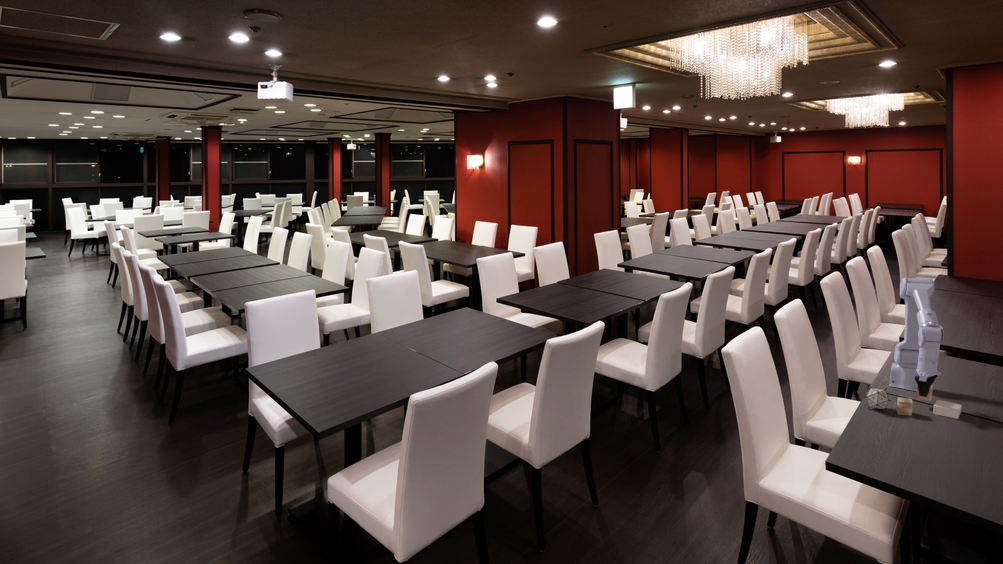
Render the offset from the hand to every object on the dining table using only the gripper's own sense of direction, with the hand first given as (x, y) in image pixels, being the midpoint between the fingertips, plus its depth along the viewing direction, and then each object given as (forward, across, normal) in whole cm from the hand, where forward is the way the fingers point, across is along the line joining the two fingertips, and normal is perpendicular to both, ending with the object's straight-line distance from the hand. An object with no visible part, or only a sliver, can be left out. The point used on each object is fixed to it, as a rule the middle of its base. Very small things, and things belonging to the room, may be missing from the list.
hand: (924, 394), depth 203 cm
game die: (+5, -12, +12) cm, 18 cm away
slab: (+5, -1, -7) cm, 9 cm away
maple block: (+5, -10, +4) cm, 12 cm away
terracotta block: (+2, 0, 0) cm, 2 cm away
